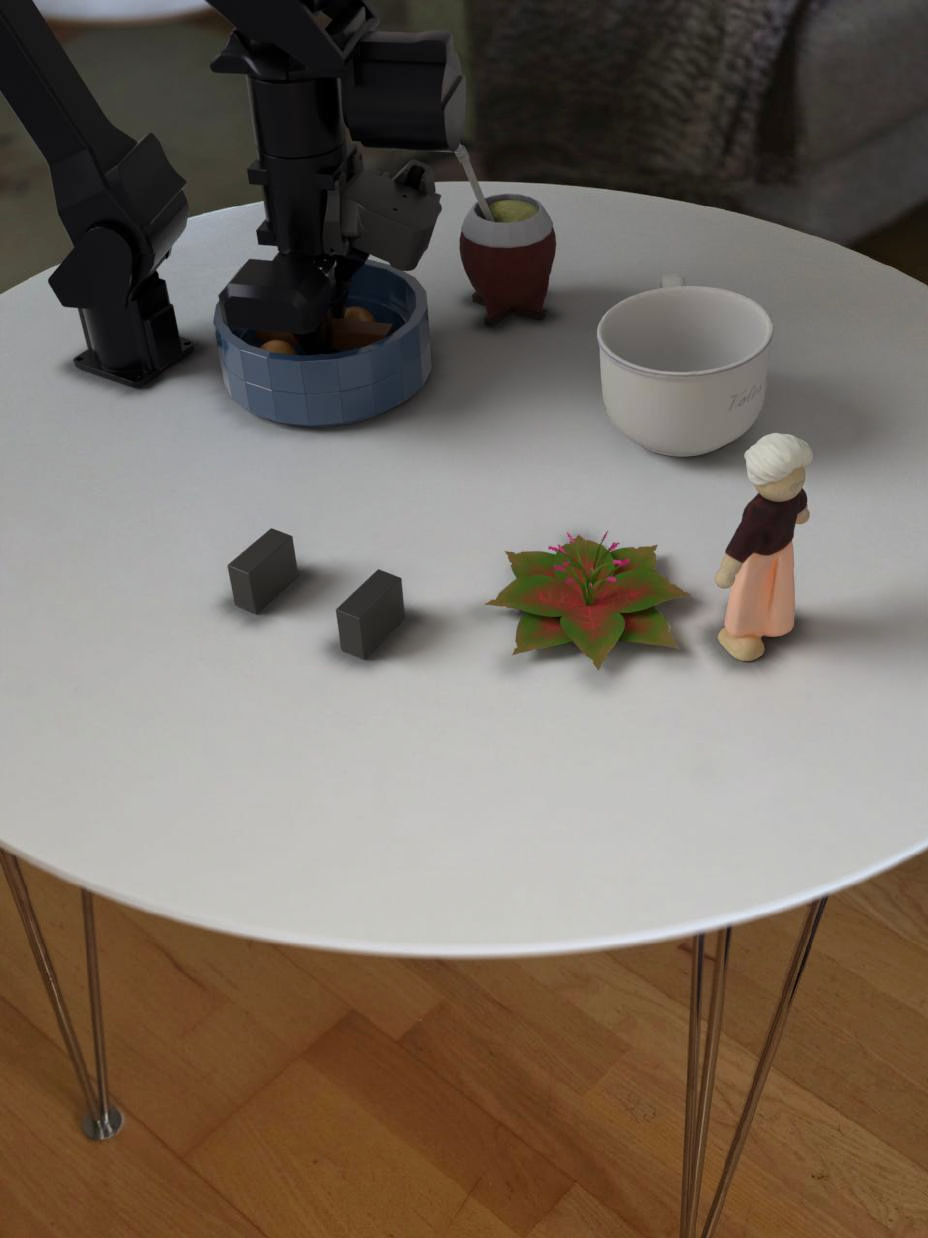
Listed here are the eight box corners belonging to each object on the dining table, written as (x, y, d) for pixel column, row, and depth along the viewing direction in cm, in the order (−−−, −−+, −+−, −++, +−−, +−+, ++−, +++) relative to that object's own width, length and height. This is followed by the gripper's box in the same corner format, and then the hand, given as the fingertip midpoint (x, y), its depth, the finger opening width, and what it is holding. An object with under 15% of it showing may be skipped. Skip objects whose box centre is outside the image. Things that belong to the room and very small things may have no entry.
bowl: (183, 397, 96) (169, 326, 92) (310, 307, 105) (301, 240, 101) (351, 454, 90) (343, 382, 86) (470, 354, 99) (467, 284, 95)
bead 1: (249, 384, 96) (243, 347, 94) (276, 365, 97) (271, 327, 95) (283, 396, 94) (277, 357, 92) (309, 375, 96) (304, 338, 94)
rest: (234, 605, 79) (226, 565, 77) (277, 567, 81) (271, 527, 79) (364, 660, 75) (359, 619, 73) (405, 618, 77) (401, 577, 75)
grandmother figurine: (763, 683, 72) (791, 487, 64) (696, 658, 74) (715, 464, 65) (816, 600, 77) (849, 408, 69) (752, 579, 79) (777, 389, 70)
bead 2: (328, 350, 99) (323, 312, 97) (352, 331, 101) (348, 294, 99) (362, 360, 97) (358, 322, 96) (386, 341, 99) (382, 304, 97)
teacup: (756, 485, 85) (770, 373, 80) (584, 470, 87) (586, 360, 82) (765, 369, 96) (778, 264, 90) (610, 359, 97) (614, 255, 92)
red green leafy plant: (679, 537, 82) (684, 474, 79) (710, 675, 73) (717, 609, 70) (478, 545, 82) (476, 483, 79) (485, 684, 73) (482, 620, 70)
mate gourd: (571, 299, 104) (574, 102, 94) (519, 345, 99) (516, 142, 89) (488, 277, 107) (482, 84, 98) (433, 321, 103) (421, 123, 93)
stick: (257, 341, 96) (254, 321, 95) (265, 330, 97) (262, 310, 96) (387, 355, 94) (386, 334, 93) (394, 343, 95) (392, 323, 94)
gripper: (378, 214, 78) (398, 444, 88) (462, 93, 91) (470, 305, 101) (197, 200, 80) (236, 425, 90) (304, 84, 93) (328, 291, 104)
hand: (326, 358), depth 96 cm, fingers closed on stick, 2 cm apart
